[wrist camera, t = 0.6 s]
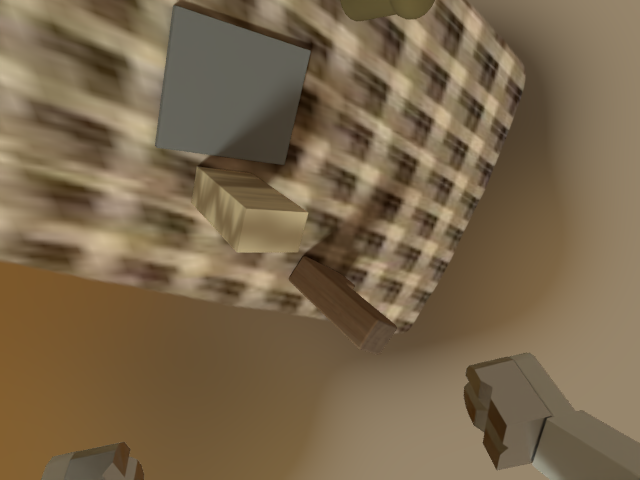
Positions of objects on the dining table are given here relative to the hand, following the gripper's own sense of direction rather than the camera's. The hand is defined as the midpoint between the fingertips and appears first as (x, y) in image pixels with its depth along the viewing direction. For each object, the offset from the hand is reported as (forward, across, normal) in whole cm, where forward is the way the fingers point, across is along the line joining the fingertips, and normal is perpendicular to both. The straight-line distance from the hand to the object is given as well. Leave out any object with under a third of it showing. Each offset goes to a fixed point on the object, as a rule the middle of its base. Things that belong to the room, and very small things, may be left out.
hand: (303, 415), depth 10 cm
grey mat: (+45, +3, +4) cm, 45 cm away
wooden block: (+46, -3, +34) cm, 58 cm away
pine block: (+43, +6, +14) cm, 46 cm away
